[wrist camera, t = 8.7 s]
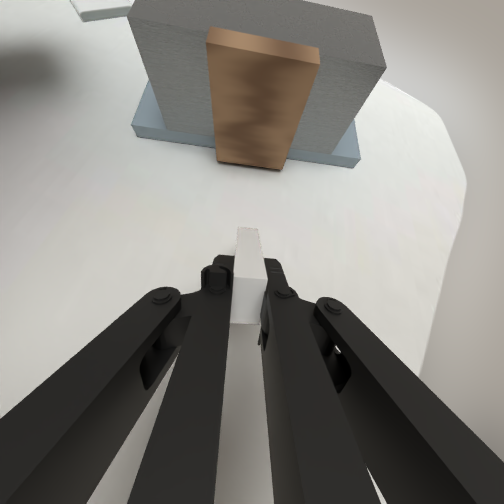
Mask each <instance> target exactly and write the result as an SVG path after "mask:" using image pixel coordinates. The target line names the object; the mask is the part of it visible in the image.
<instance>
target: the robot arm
mask: <svg viewBox="0 0 504 504" xmlns="http://www.w3.org/2000/svg"><path fill="white" fill-rule="evenodd" d="M260 318H261V329H260V334H259V340H258V345H260V342H261V354H262V366H263V378H264V389H265V401H266V413H267V425H268V436H269V448H270V460H271V472H272V483H273V495H274V504H381V502H380V500H379V497H378V495H377V492H376V490H375V487H374V485H373V482H372V480H371V477H370V475H369V472H370V473H371V475H372V477H373V479H374V481H375V482H376V484H377V486H378V488H379V490H380V491H381V493H382V495H383V497H384V499H385V500H386V502H387V504H504V463H503V461H502V460H501V459H500V458H499V457H498V456H497V455H496V454H495V453H494V452H493V451H492V450H491V449H490V448H489V447H488V446H487V445H486V444H485V443H484V442H483V441H482V440H481V439H479V437H478V436H476V434H474V432H473V431H472V430H471V429H469V428H468V427H467V426H466V425H465V424H464V423H463V422H462V421H461V420H460V419H459V418H458V417H457V416H456V415H455V414H454V413H453V412H452V411H451V410H450V409H449V408H448V407H447V406H446V405H445V404H444V403H443V402H442V401H441V400H440V399H439V398H438V397H437V396H436V395H435V394H434V393H433V392H432V391H431V390H430V389H429V388H428V387H427V386H426V385H425V384H424V383H423V382H422V381H421V380H420V379H419V378H418V377H417V376H416V375H415V374H414V373H413V372H412V371H411V370H410V369H409V368H408V367H407V366H406V365H405V364H404V363H403V362H402V361H401V360H400V359H399V358H398V357H397V356H396V355H395V354H394V353H393V352H392V351H391V350H390V349H389V348H388V347H387V346H386V345H385V344H384V343H383V342H382V341H381V340H380V339H379V338H378V337H377V336H376V335H375V334H374V333H373V332H372V331H371V330H370V329H369V328H368V327H367V326H366V325H365V324H364V323H363V322H362V321H361V320H360V319H359V318H358V317H357V316H356V315H355V314H354V313H353V312H352V311H351V310H349V309H348V308H347V307H346V306H345V305H344V304H343V303H342V302H340V301H338V300H336V299H333V298H330V297H322V298H319V299H318V300H317V302H316V304H315V303H312V302H308V301H305V300H302V299H300V298H299V297H298V294H297V293H296V291H295V290H293V289H292V288H291V287H289V286H288V283H287V280H286V278H285V275H284V272H283V269H282V266H281V264H280V263H279V262H278V261H277V260H276V259H270V258H263V253H262V248H261V243H260V238H259V233H258V229H252V228H242V227H238V232H237V242H236V252H235V256H228V255H218V256H217V257H215V258H214V261H213V264H212V265H209V266H207V267H205V268H203V270H202V271H201V290H199V291H197V292H194V293H190V294H183V295H180V292H179V291H178V289H175V288H173V287H160V288H157V289H154V290H152V291H150V292H148V293H147V294H146V295H144V296H143V297H142V298H141V299H140V300H139V301H137V302H136V303H135V304H134V305H133V306H132V307H130V308H129V309H128V310H127V311H126V312H125V313H123V314H122V315H121V316H120V317H119V318H118V319H116V320H115V321H114V322H113V323H112V324H111V325H109V326H108V327H107V328H106V329H105V330H104V331H102V332H101V333H100V334H99V335H98V336H97V337H95V338H94V339H93V340H92V341H91V342H90V343H88V344H87V345H86V346H85V347H84V348H83V349H81V350H80V351H79V352H78V353H77V354H76V355H74V356H73V357H72V358H71V359H70V360H69V361H67V362H66V363H65V364H64V365H63V366H62V367H60V368H59V369H58V370H57V371H56V372H55V373H53V374H52V375H51V376H50V377H49V378H48V379H46V380H45V381H44V382H43V383H42V384H41V385H39V386H38V387H37V388H36V389H35V390H34V391H32V392H31V393H30V394H29V395H28V396H27V397H25V398H24V399H23V400H22V401H21V402H20V403H18V404H17V405H16V406H15V407H14V408H13V409H11V410H10V411H9V412H8V413H7V414H6V415H4V416H3V417H2V418H1V419H0V504H86V503H87V501H88V500H89V498H90V497H91V495H92V493H93V492H94V490H95V488H96V487H97V485H98V484H99V482H100V480H101V479H102V477H103V475H104V474H105V472H106V471H107V469H108V467H109V466H110V464H111V462H112V461H113V459H114V457H115V456H116V454H117V453H118V451H119V449H120V448H121V446H122V444H123V443H124V441H125V440H126V438H127V436H128V435H129V433H130V431H131V430H132V428H133V427H134V425H135V423H136V422H137V420H138V418H139V417H140V415H141V414H142V412H143V410H144V409H145V407H146V405H147V404H148V402H149V401H150V399H151V397H152V396H153V394H154V392H155V391H156V389H157V388H158V386H159V384H160V383H161V381H162V379H163V378H164V376H165V375H166V373H167V371H168V370H169V368H170V366H171V365H172V363H173V362H174V360H175V358H176V357H177V355H178V357H177V360H176V363H175V366H174V369H173V372H172V375H171V377H170V380H169V383H168V386H167V389H166V392H165V395H164V398H163V401H162V404H161V407H160V409H159V412H158V415H157V418H156V421H155V424H154V427H153V430H152V433H151V436H150V439H149V441H148V444H147V447H146V450H145V453H144V456H143V459H142V462H141V465H140V468H139V470H138V473H137V476H136V479H135V482H134V485H133V488H132V491H131V494H130V497H129V500H128V502H127V504H214V494H215V483H216V472H217V461H218V449H219V438H220V427H221V416H222V405H223V394H224V382H225V371H226V360H227V349H228V338H229V327H230V323H239V324H258V325H259V323H260ZM335 346H337V347H338V349H339V350H340V351H341V353H340V352H339V351H338V350H337V349H336V347H335ZM178 353H179V354H178ZM365 464H366V465H365ZM366 466H367V467H366ZM367 468H368V470H369V472H368V470H367Z"/></svg>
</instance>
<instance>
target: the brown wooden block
mask: <svg viewBox="0 0 504 504" xmlns="http://www.w3.org/2000/svg"><path fill="white" fill-rule="evenodd" d="M206 50H207V60H208V71H209V82H210V92H211V103H212V113H213V124H214V135H215V145H216V156H217V161H222V162H229V163H237V164H244V165H251V166H258V167H265V168H273V169H280V170H282V169H283V166H284V163H285V160H286V158H287V155H288V152H289V149H290V147H291V144H292V141H293V138H294V135H295V133H296V130H297V127H298V124H299V122H300V119H301V116H302V113H303V111H304V108H305V105H306V102H307V100H308V97H309V94H310V91H311V89H312V86H313V83H314V80H315V77H316V75H317V72H318V69H319V66H320V57H319V48H316V47H311V46H306V45H301V44H296V43H291V42H286V41H281V40H276V39H271V38H267V37H262V36H257V35H252V34H247V33H242V32H237V31H232V30H227V29H222V28H217V27H212V26H210V28H209V32H208V36H207V39H206Z"/></svg>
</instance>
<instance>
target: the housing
mask: <svg viewBox="0 0 504 504" xmlns="http://www.w3.org/2000/svg"><path fill="white" fill-rule="evenodd" d="M127 18H128V21H129V24H130V27H131V30H132V33H133V35H134V38H135V41H136V44H137V47H138V49H139V52H140V55H141V58H142V61H143V64H144V66H145V69H146V72H147V75H148V78H149V80H148V83H147V85H146V88H145V90H144V93H143V95H142V98H141V100H140V103H139V106H138V108H137V111H136V113H135V116H134V118H133V121H132V123H131V126H132V127H133V129H134V131H135V133H136V135H137V137H143V138H150V139H157V140H164V141H171V142H177V143H184V144H191V145H198V146H205V147H212V148H216V145H215V135H214V124H213V113H212V103H211V92H210V82H209V71H208V60H207V50H206V39H207V36H208V32H209V28H210V26H212V27H217V28H222V29H227V30H232V31H237V32H242V33H247V34H252V35H257V36H262V37H267V38H271V39H276V40H281V41H286V42H291V43H296V44H301V45H306V46H311V47H316V48H319V57H320V66H319V69H318V72H317V75H316V77H315V80H314V83H313V86H312V89H311V91H310V94H309V97H308V100H307V102H306V105H305V108H304V111H303V113H302V116H301V119H300V122H299V124H298V127H297V130H296V133H295V135H294V138H293V141H292V144H291V147H290V149H289V152H288V155H287V158H288V159H295V160H302V161H309V162H315V163H322V164H329V165H336V166H343V167H350V168H354V167H355V165H356V164H357V163H358V162H359V161H360V160H361V157H360V151H359V145H358V139H357V133H356V127H355V121H354V118H355V116H356V115H357V113H358V112H359V110H360V109H361V107H362V105H363V104H364V102H365V101H366V99H367V98H368V96H369V95H370V93H371V91H372V90H373V88H374V87H375V85H376V84H377V82H378V80H379V79H380V77H381V76H382V74H383V73H384V71H385V70H386V68H387V67H386V63H385V60H384V57H383V53H382V49H381V46H380V42H379V39H378V36H377V32H376V28H375V25H374V22H373V18H372V16H370V15H366V14H361V13H357V12H352V11H348V10H343V9H339V8H334V7H330V6H325V5H320V4H316V3H311V2H307V1H303V0H135V2H134V3H133V5H132V7H131V9H130V11H129V12H128V14H127Z"/></svg>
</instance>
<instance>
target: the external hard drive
mask: <svg viewBox="0 0 504 504" xmlns="http://www.w3.org/2000/svg"><path fill="white" fill-rule="evenodd" d="M70 1H71V3H72V4H73V6H74V8H75V9H76V11H77V13H78V14H79V16H80V17H81V19H82V21H83V22H88V21H95V20H102V19H110V18H117V17H124V16H127V14H128V12H129V11H130V9H131V7H132V4H131V3H130V1H129V0H70Z"/></svg>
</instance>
